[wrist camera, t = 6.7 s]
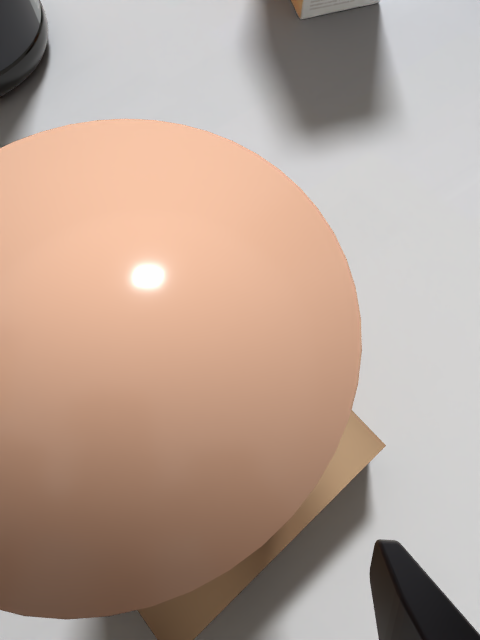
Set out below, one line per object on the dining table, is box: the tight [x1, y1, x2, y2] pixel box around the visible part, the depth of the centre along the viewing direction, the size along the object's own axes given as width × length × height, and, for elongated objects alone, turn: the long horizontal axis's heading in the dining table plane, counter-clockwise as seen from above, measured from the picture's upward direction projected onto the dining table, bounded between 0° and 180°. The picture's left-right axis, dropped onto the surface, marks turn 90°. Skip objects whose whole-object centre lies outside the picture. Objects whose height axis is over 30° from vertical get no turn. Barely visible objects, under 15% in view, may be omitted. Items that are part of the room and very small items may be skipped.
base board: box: [138, 410, 386, 640], centre depth 18 cm, size 10×10×2 cm
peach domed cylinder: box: [0, 119, 362, 619], centre depth 11 cm, size 7×7×12 cm
